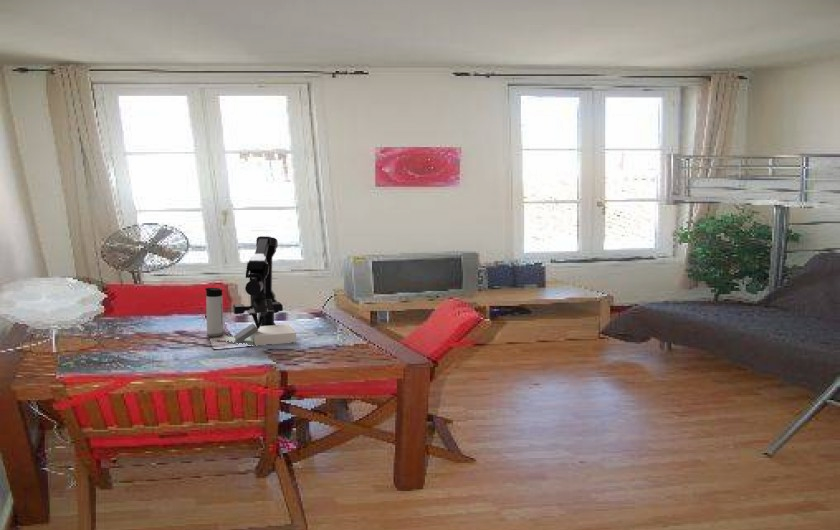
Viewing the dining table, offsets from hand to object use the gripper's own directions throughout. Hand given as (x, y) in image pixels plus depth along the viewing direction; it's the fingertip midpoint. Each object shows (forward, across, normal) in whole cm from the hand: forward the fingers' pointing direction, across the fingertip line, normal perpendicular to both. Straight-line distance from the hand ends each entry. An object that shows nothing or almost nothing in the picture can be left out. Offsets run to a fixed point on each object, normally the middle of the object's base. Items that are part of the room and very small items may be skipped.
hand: (258, 328), depth 212 cm
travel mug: (+5, -15, +15) cm, 22 cm away
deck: (+5, +6, 0) cm, 8 cm away
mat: (+5, -10, 0) cm, 11 cm away
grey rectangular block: (+2, -4, 0) cm, 5 cm away
